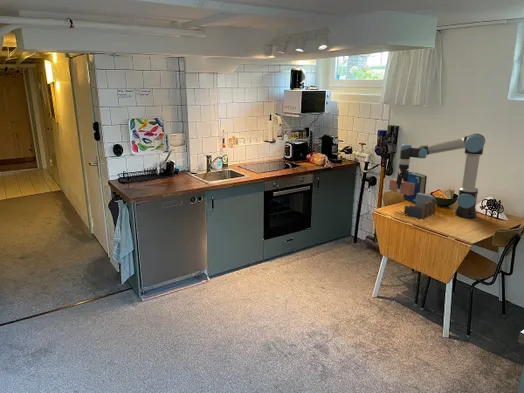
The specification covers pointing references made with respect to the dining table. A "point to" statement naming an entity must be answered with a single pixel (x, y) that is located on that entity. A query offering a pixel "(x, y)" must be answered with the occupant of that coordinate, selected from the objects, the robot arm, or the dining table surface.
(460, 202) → the robot arm
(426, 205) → the shelf wall
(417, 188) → the book
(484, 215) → the dining table surface
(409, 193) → the book box
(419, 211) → the bookend
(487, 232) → the dining table surface
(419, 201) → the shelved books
